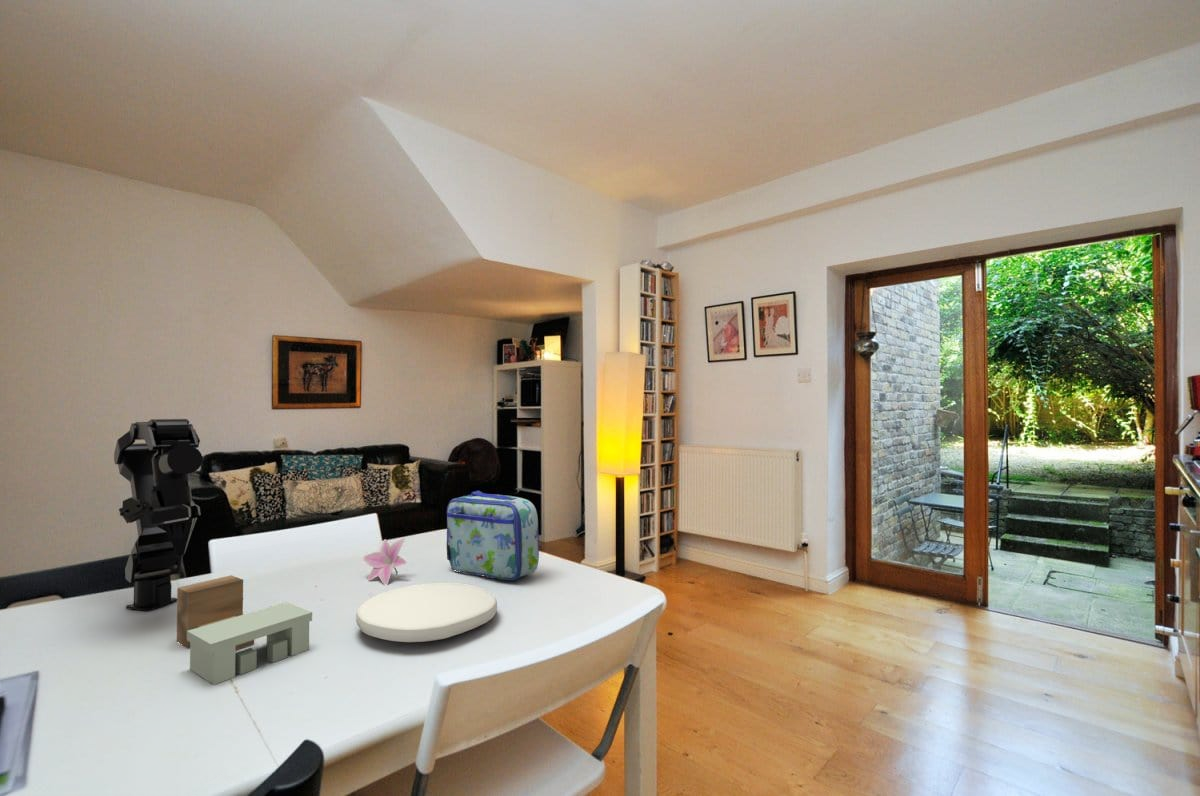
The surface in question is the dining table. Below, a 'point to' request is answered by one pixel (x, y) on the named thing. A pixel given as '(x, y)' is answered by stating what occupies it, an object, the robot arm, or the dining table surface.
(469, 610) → the cream round disc
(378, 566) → the lily
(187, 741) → the dining table surface
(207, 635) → the green miniature desk
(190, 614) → the rectangular block
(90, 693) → the dining table surface
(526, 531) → the lunch box
